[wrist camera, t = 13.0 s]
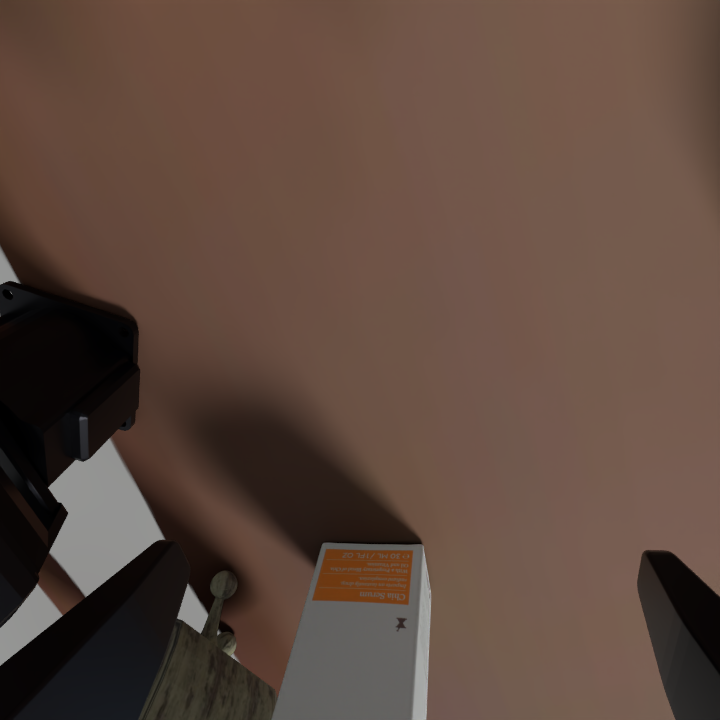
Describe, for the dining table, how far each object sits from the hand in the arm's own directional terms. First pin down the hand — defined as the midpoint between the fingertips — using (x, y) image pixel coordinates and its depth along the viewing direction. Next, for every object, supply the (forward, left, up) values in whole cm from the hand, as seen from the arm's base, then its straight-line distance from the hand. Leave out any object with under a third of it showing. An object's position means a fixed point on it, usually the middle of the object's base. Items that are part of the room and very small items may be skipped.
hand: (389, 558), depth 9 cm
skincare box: (+3, -16, -12) cm, 20 cm away
